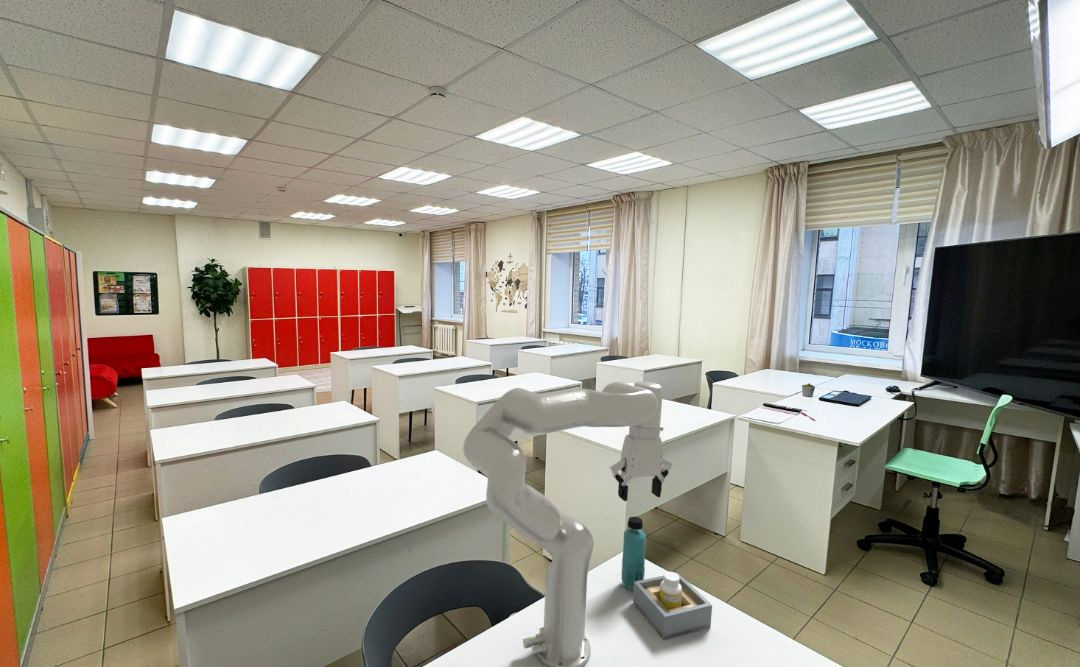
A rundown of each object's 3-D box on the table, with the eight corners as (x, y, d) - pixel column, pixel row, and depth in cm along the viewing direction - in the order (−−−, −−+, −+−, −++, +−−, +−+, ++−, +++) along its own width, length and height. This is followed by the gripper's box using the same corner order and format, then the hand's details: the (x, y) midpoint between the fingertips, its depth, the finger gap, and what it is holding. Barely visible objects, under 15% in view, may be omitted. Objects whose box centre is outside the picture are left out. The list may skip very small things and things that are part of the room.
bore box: (663, 640, 111) (665, 616, 111) (632, 602, 124) (634, 581, 124) (710, 627, 116) (712, 605, 116) (676, 592, 129) (677, 572, 129)
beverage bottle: (634, 596, 127) (638, 527, 125) (615, 584, 132) (619, 518, 130) (648, 587, 131) (652, 520, 129) (629, 576, 136) (633, 511, 134)
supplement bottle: (661, 601, 124) (663, 567, 123) (682, 609, 121) (684, 573, 120) (656, 614, 119) (658, 578, 118) (678, 621, 116) (680, 585, 115)
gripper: (664, 425, 122) (660, 487, 124) (606, 428, 116) (602, 494, 118) (682, 434, 115) (677, 500, 117) (621, 437, 109) (616, 507, 111)
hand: (639, 496), depth 117 cm, fingers open, 9 cm apart
